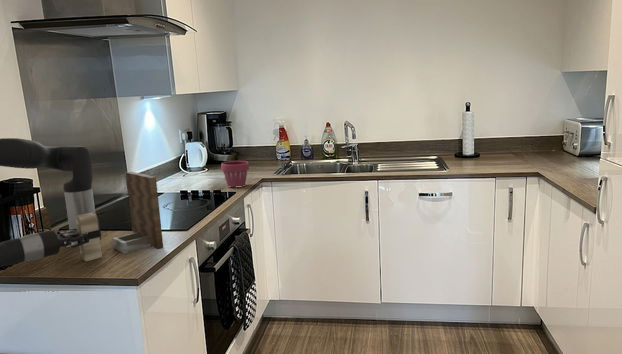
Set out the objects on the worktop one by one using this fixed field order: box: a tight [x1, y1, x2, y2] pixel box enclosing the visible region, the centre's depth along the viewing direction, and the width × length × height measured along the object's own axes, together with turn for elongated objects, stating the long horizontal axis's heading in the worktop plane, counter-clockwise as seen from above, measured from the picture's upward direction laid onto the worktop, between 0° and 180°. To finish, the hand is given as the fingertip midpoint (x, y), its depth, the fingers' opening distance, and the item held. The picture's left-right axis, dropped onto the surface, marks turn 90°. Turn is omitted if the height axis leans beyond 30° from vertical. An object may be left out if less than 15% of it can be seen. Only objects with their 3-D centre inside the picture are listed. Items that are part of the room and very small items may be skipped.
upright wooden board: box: [112, 171, 164, 255], centre depth 159 cm, size 18×11×24 cm, turn 45°
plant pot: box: [220, 160, 250, 187], centre depth 251 cm, size 14×14×13 cm
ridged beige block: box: [75, 213, 103, 262], centre depth 150 cm, size 4×6×14 cm
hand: (97, 231), depth 152 cm, fingers closed on ridged beige block, 4 cm apart
